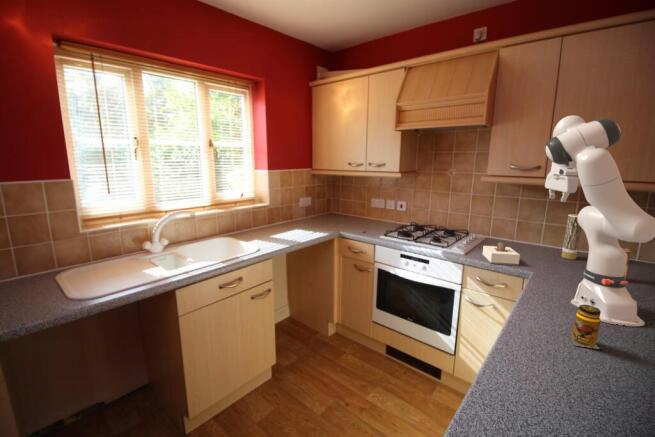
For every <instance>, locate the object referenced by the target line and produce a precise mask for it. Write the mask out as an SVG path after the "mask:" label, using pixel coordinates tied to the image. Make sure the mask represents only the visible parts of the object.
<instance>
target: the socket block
mask: <svg viewBox="0 0 655 437" xmlns="http://www.w3.org/2000/svg"><path fill="white" fill-rule="evenodd" d="M481 256H482V257H483V258H484V259H485V260H486V261H487V263H489V264H490V265H501V266H502V265H505V266H519V265H520V258H521V255H520V253H519V252H516V251H515V250H514V249H512V248H511V247H510V246H506V247H505V252H499V251H497V245H496V246H495V245H483V247H482V255H481Z"/></svg>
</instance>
